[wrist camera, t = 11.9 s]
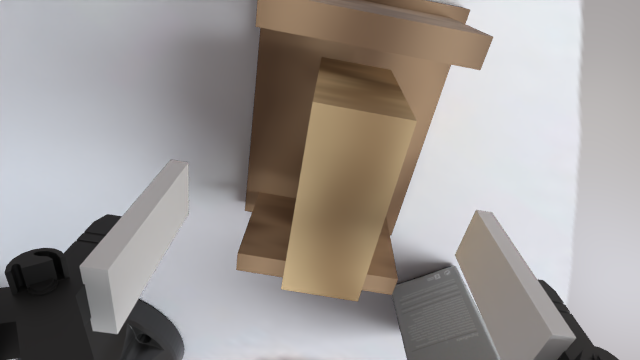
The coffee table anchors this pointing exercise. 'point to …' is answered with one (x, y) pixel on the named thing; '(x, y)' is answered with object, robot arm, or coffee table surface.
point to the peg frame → (298, 92)
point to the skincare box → (441, 319)
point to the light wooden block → (346, 177)
